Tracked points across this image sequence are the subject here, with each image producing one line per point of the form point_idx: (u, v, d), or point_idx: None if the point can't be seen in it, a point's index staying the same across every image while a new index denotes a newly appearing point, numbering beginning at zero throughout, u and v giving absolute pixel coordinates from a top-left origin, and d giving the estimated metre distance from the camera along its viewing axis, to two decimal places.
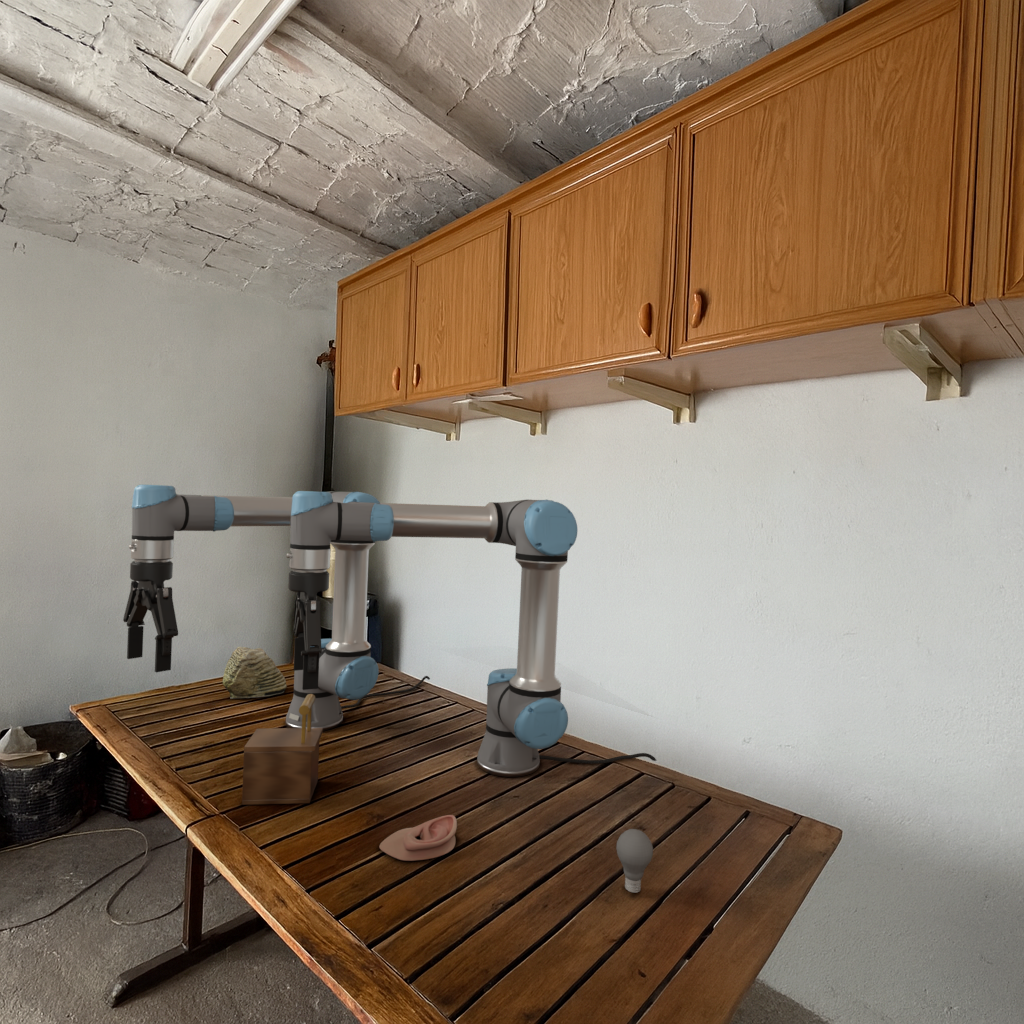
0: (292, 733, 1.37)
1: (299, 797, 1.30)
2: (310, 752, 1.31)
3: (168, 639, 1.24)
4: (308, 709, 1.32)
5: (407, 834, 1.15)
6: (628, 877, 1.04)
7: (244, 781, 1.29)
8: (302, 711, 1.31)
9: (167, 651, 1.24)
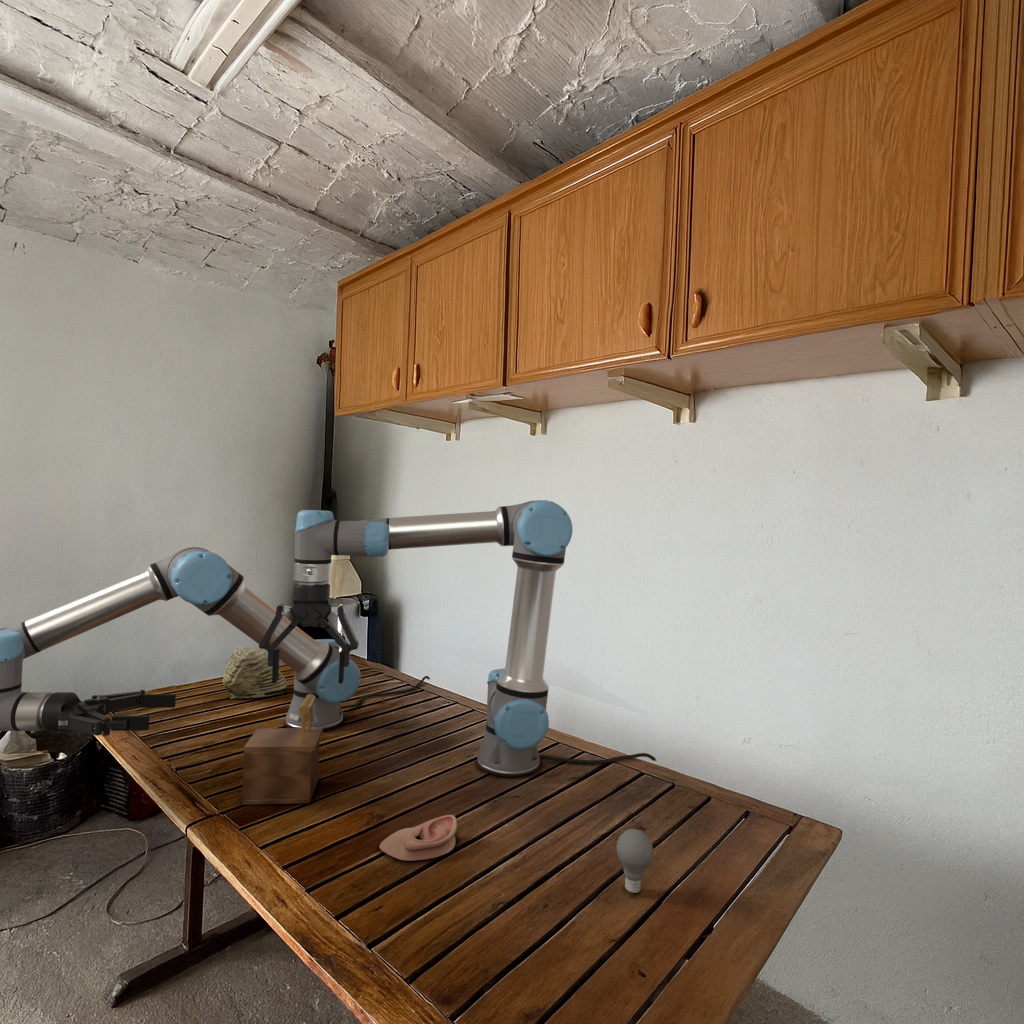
0: (292, 733, 1.37)
1: (299, 797, 1.30)
2: (310, 752, 1.31)
3: (108, 725, 1.22)
4: (308, 709, 1.32)
5: (407, 834, 1.15)
6: (628, 877, 1.04)
7: (244, 781, 1.29)
8: (302, 711, 1.31)
9: (122, 724, 1.22)
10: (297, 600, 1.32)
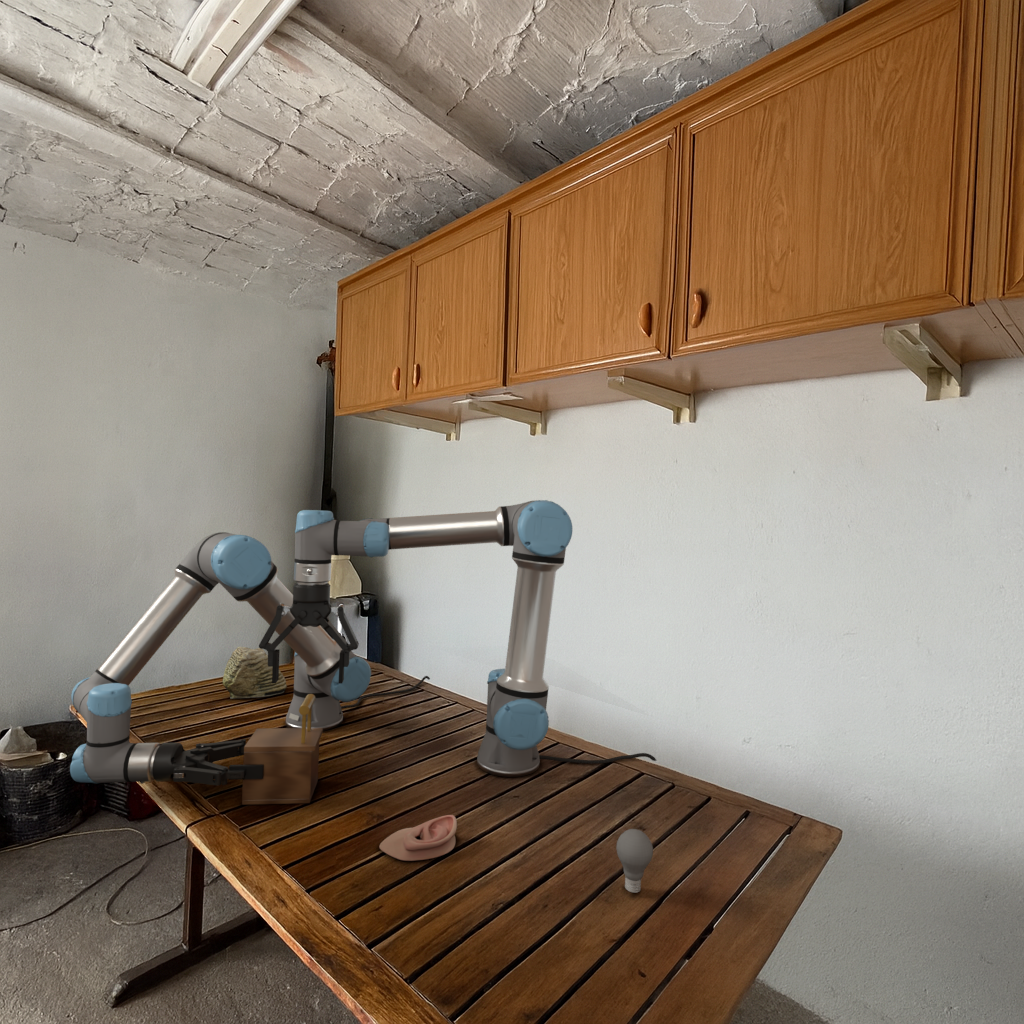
0: (292, 733, 1.37)
1: (299, 797, 1.30)
2: (310, 752, 1.31)
3: (227, 774, 1.26)
4: (308, 709, 1.32)
5: (407, 834, 1.15)
6: (628, 877, 1.04)
7: (244, 781, 1.29)
8: (302, 711, 1.31)
9: (240, 774, 1.27)
10: (297, 600, 1.32)
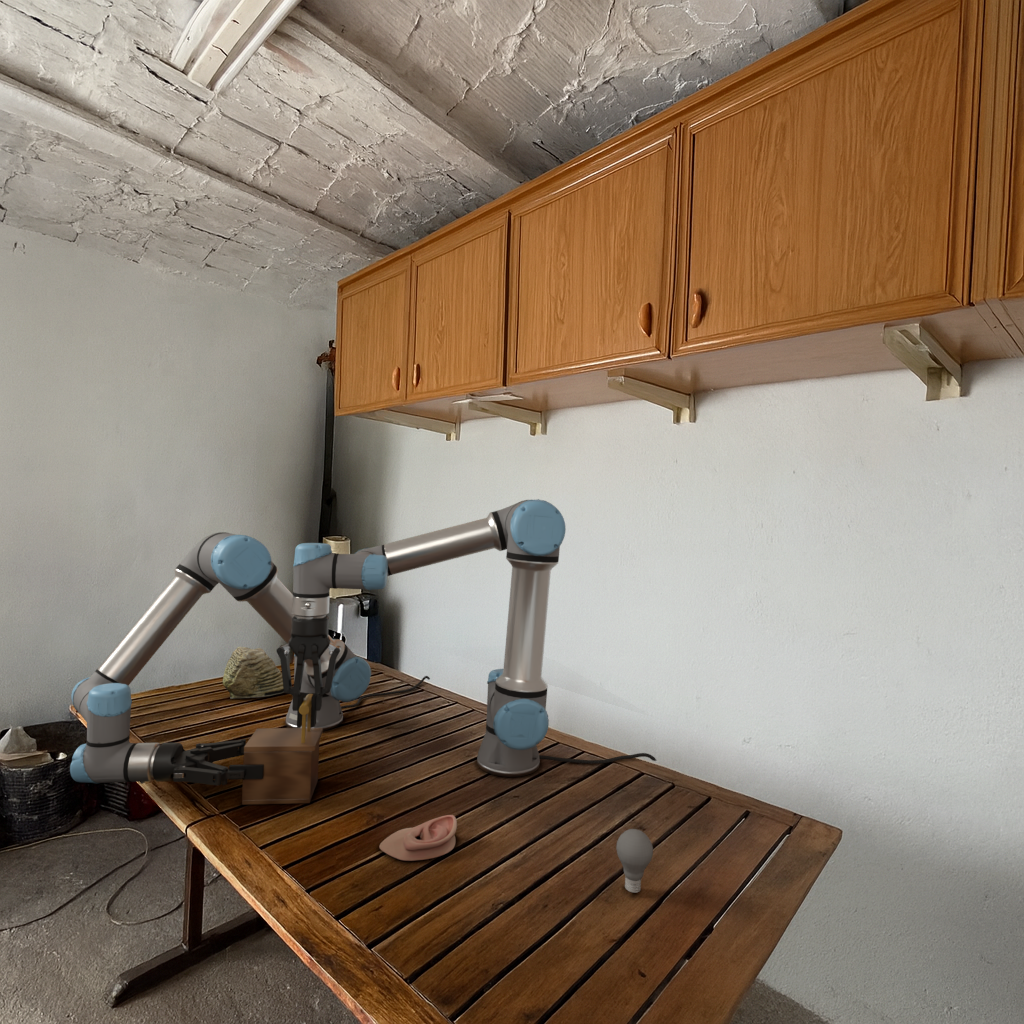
0: (292, 733, 1.37)
1: (299, 797, 1.30)
2: (310, 752, 1.31)
3: (227, 774, 1.26)
4: (308, 709, 1.32)
5: (407, 834, 1.15)
6: (628, 877, 1.04)
7: (244, 781, 1.29)
8: (302, 711, 1.31)
9: (240, 774, 1.27)
10: (295, 634, 1.32)
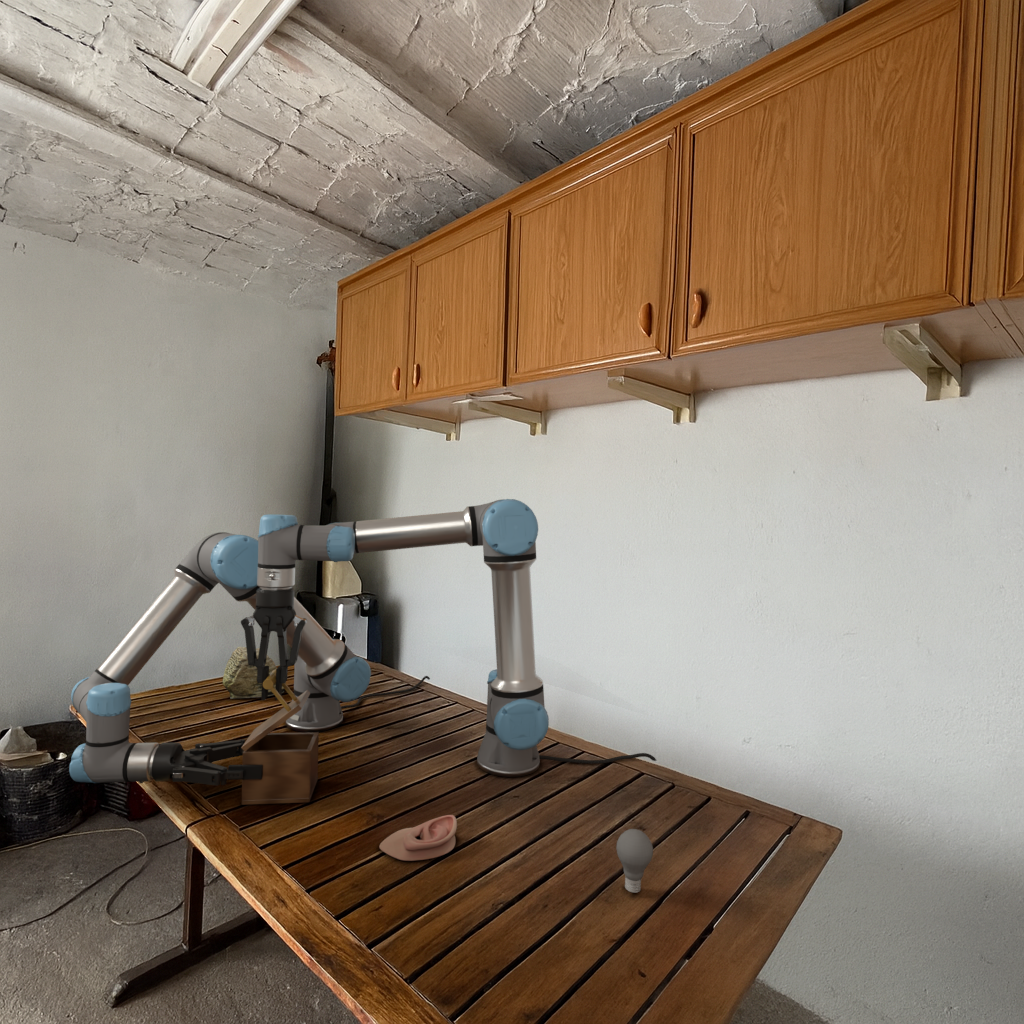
0: (282, 710, 1.36)
1: (299, 796, 1.30)
2: (309, 751, 1.31)
3: (226, 775, 1.26)
4: (271, 681, 1.30)
5: (407, 834, 1.15)
6: (628, 877, 1.04)
7: (243, 781, 1.29)
8: (267, 686, 1.30)
9: (239, 774, 1.27)
10: (260, 605, 1.31)
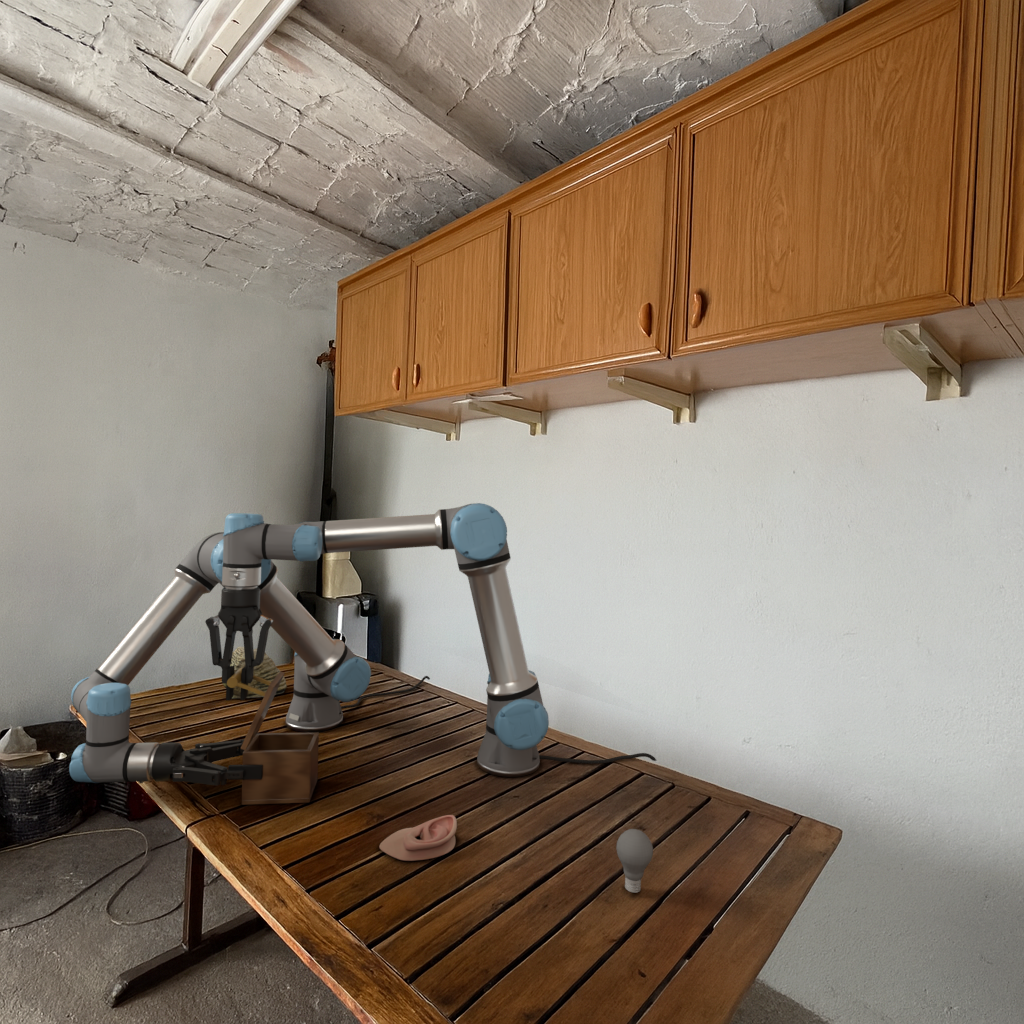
0: None
1: (299, 796, 1.30)
2: (309, 751, 1.31)
3: (226, 774, 1.26)
4: (233, 678, 1.29)
5: (407, 834, 1.15)
6: (628, 877, 1.04)
7: (243, 781, 1.29)
8: (232, 684, 1.29)
9: (239, 774, 1.27)
10: (224, 605, 1.30)
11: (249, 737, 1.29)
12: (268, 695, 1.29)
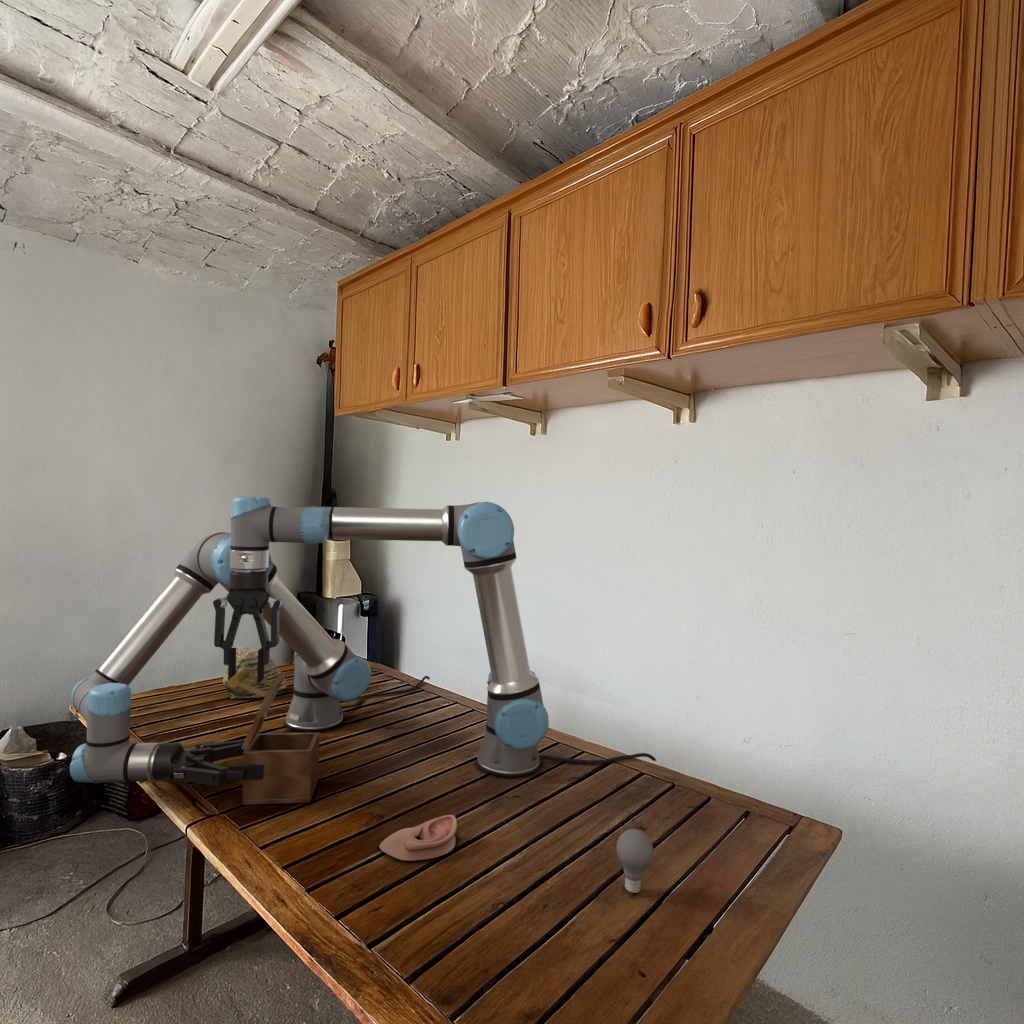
0: None
1: (299, 796, 1.30)
2: (310, 751, 1.31)
3: (227, 775, 1.26)
4: (234, 678, 1.29)
5: (407, 834, 1.15)
6: (628, 877, 1.04)
7: (244, 781, 1.29)
8: (233, 684, 1.29)
9: (239, 774, 1.27)
10: (232, 587, 1.30)
11: (250, 737, 1.29)
12: (269, 695, 1.29)
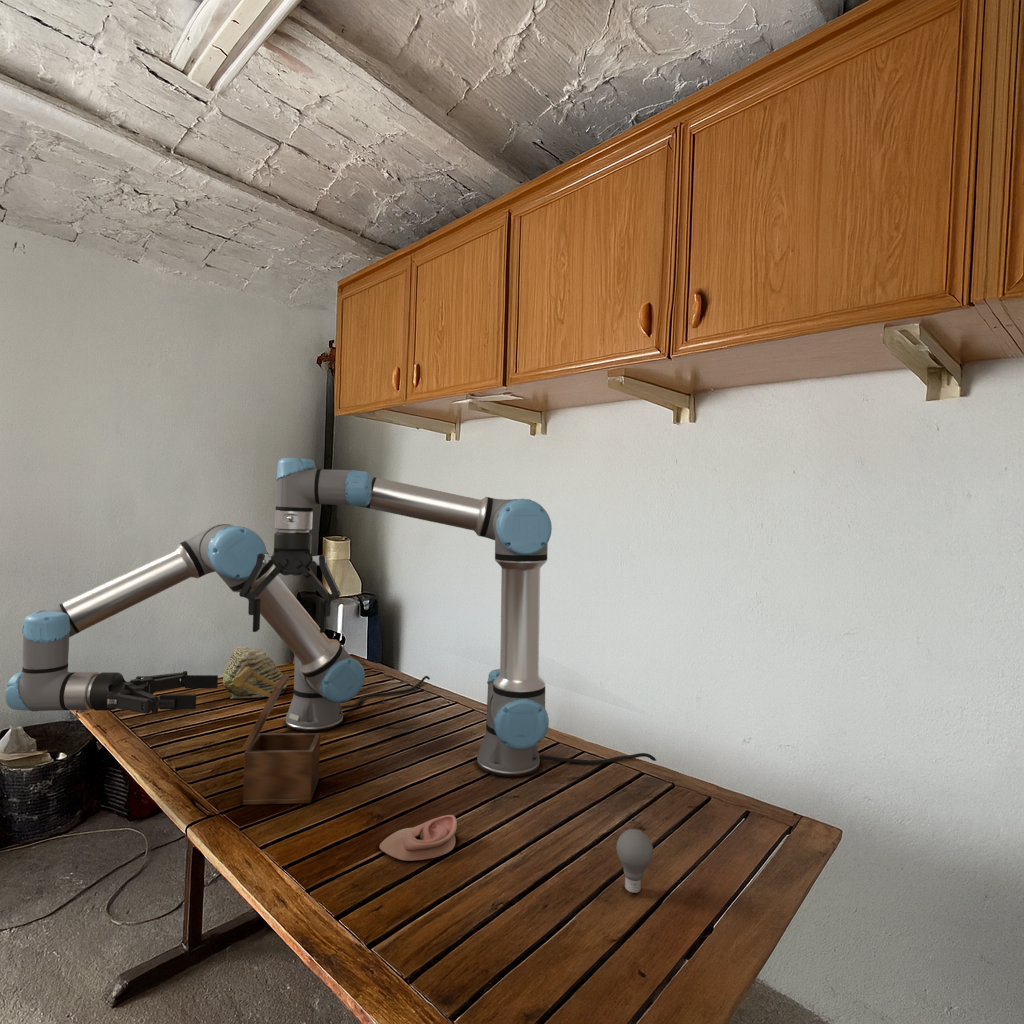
0: None
1: (300, 797, 1.30)
2: (311, 752, 1.31)
3: (157, 703, 1.23)
4: (239, 677, 1.30)
5: (407, 834, 1.15)
6: (628, 877, 1.04)
7: (245, 781, 1.29)
8: (238, 683, 1.29)
9: (170, 703, 1.24)
10: (278, 548, 1.31)
11: (251, 737, 1.29)
12: (273, 696, 1.29)
